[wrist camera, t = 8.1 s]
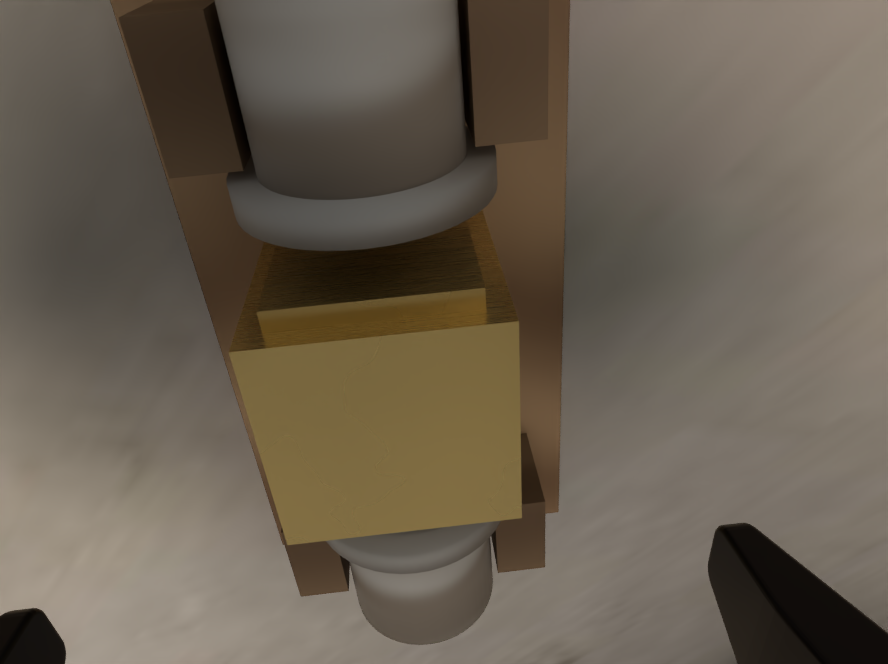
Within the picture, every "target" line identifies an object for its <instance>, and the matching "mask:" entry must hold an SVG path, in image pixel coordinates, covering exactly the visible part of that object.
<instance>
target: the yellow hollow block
mask: <svg viewBox="0 0 888 664" xmlns="http://www.w3.org/2000/svg"><path fill="white" fill-rule="evenodd" d="M229 356H230V359H231V362H232V365H233V369H234V372H235V375H236V378H237V382H238V385H239V388H240V392H241V395H242V398H243V401H244V405H245V408H246V411H247V414H248V418H249V421H250V424H251V428H252V431H253V434H254V437H255V441H256V444H257V447H258V450H259V454H260V457H261V460H262V464H263V467H264V470H265V473H266V477H267V480H268V483H269V486H270V490H271V493H272V496H273V500H274V503H275V506H276V509H277V513H278V516H279V519H280V522H281V526H282V529H283V532H284V536H285V539H286V542H287V545H294V544H302V543H311V542H320V541H328V540H337V539H346V538H354V537H363V536H372V535H380V534H389V533H398V532H406V531H415V530H424V529H432V528H441V527H450V526H458V525H467V524H476V523H484V522H493V521H501V520H510V519H519V518H522V491H521V423H520V356H519V320H518V317H517V314H516V311H515V308H514V305H513V302H512V298H511V295H510V292H509V289H508V286H507V283H506V280H505V277H504V274H503V271H502V268H501V265H500V262H499V259H498V256H497V253H496V250H495V247H494V244H493V241H492V238H491V235H490V231H489V228H488V225H487V222H486V219H485V216H484V213H483V210H481V211H480V212H479V213H477V214H476V215H474V216H473V217H471V218H470V219H468V220H466V221H464V222H462V223H460V224H458V225H456V226H454V227H452V228H449V229H447V230H444V231H442V232H439V233H436V234H433V235H430V236H427V237H424V238H420V239H417V240H413V241H409V242H405V243H400V244H395V245H390V246H384V247H377V248H369V249H360V250H347V251H315V250H302V249H293V248H287V247H282V246H277V245H273V244H270V243H267V242H264V244H263V247H262V250H261V253H260V256H259V259H258V262H257V265H256V268H255V272H254V275H253V278H252V281H251V284H250V287H249V290H248V293H247V297H246V300H245V303H244V306H243V309H242V312H241V315H240V318H239V321H238V325H237V328H236V331H235V334H234V337H233V340H232V343H231V346H230V349H229Z"/></svg>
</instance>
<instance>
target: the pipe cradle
mask: <svg viewBox="0 0 888 664" xmlns="http://www.w3.org/2000/svg"><path fill="white" fill-rule="evenodd" d="M110 1H111V5H112V8H113V11H114V14H115V17H116V20H117V24H118V27H119V30H120V33H121V36H122V39H123V42H124V46H125V49H126V52H127V55H128V58H129V61H130V64H131V68H132V71H133V74H134V77H135V80H136V83H137V87H138V90H139V93H140V96H141V99H142V102H143V105H144V109H145V112H146V115H147V118H148V121H149V124H150V127H151V131H152V134H153V137H154V140H155V143H156V146H157V150H158V153H159V156H160V159H161V162H162V165H163V168H164V172H165V175H166V178H167V181H168V184H169V187H170V190H171V194H172V197H173V200H174V203H175V206H176V209H177V213H178V216H179V219H180V222H181V225H182V228H183V231H184V235H185V238H186V241H187V244H188V247H189V250H190V253H191V257H192V260H193V263H194V266H195V269H196V272H197V275H198V279H199V282H200V285H201V288H202V291H203V294H204V298H205V301H206V304H207V307H208V310H209V313H210V316H211V320H212V323H213V326H214V329H215V332H216V335H217V338H218V342H219V345H220V348H221V351H222V354H223V357H224V361H225V364H226V367H227V370H228V373H229V376H230V379H231V383H232V386H233V389H234V392H235V395H236V398H237V401H238V405H239V408H240V411H241V414H242V417H243V420H244V424H245V427H246V430H247V433H248V436H249V439H250V442H251V446H252V449H253V452H254V455H255V458H256V461H257V464H258V468H259V471H260V474H261V477H262V480H263V483H264V486H265V490H266V493H267V496H268V499H269V502H270V505H271V509H272V512H273V515H274V518H275V521H276V524H277V527H278V531H279V534H280V537H281V540H282V543H283V545H284V544H285V547H286V551H287V554H288V557H289V560H290V563H291V566H292V570H293V573H294V576H295V579H296V582H297V585H298V589H299V592H300V595H301V596H309V595H318V594H326V593H334V592H343V591H349V568H350V566H351V571H352V575H353V579H354V583H355V587H356V591H357V596H358V600H359V604H360V607H361V609H362V612H363V614H364V616H365V617H366V619H367V620H368V621H369V623H370V624H371V625H372V626H373V627H374V628H375V629H376V630H377V631H379V632H380V633H381V634H383V635H384V636H386V637H388V638H390V639H392V640H395V641H398V642H402V643H407V644H416V645H424V644H433V643H438V642H442V641H445V640H448V639H450V638H453V637H455V636H457V635H459V634H460V633H462V632H464V631H465V630H466V629H468V628H469V627H470V626H471V625H473V623H474V622H475V621H476V620H477V619H478V618H479V617H480V616H481V614H482V613H483V612H484V610H485V608H486V606H487V604H488V602H489V599H490V596H491V592H492V583H493V578H492V562H491V545H490V536H492V542H493V547H494V553H495V558H496V564H497V570H498V573H500V572H509V571H517V570H525V569H534V568H542V567H545V514H546V513H554V512H558V505H559V461H560V416H561V372H562V328H563V284H564V240H565V196H566V152H567V108H568V63H569V19H570V0H110ZM481 210H483V213H484V216H485V219H486V222H487V225H488V228H489V231H490V235H491V238H492V241H493V244H494V247H495V250H496V253H497V256H498V259H499V262H500V265H501V268H502V271H503V274H504V277H505V280H506V283H507V286H508V289H509V292H510V295H511V298H512V302H513V305H514V308H515V311H516V314H517V317H518V320H519V356H520V423H521V491H522V518H519V519H510V520H501V521H493V522H484V523H476V524H467V525H458V526H450V527H441V528H432V529H424V530H415V531H406V532H398V533H389V534H380V535H372V536H363V537H354V538H346V539H337V540H328V541H320V542H311V543H302V544H294V545H287V542H286V539H285V536H284V532H283V529H282V526H281V522H280V519H279V516H278V513H277V509H276V506H275V503H274V500H273V496H272V493H271V490H270V486H269V483H268V480H267V477H266V473H265V470H264V467H263V464H262V460H261V457H260V454H259V450H258V447H257V444H256V441H255V437H254V434H253V431H252V428H251V424H250V421H249V418H248V414H247V411H246V408H245V405H244V401H243V398H242V395H241V392H240V388H239V385H238V382H237V378H236V375H235V372H234V369H233V365H232V362H231V359H230V356H229V349H230V346H231V343H232V340H233V337H234V334H235V331H236V328H237V325H238V321H239V318H240V315H241V312H242V309H243V306H244V303H245V300H246V297H247V293H248V290H249V287H250V284H251V281H252V278H253V275H254V272H255V268H256V265H257V262H258V259H259V256H260V253H261V250H262V247H263V244H264V242H267V243H270V244H273V245H277V246H282V247H287V248H293V249H302V250H315V251H347V250H360V249H369V248H377V247H384V246H390V245H395V244H400V243H405V242H409V241H413V240H417V239H420V238H424V237H427V236H430V235H433V234H436V233H439V232H442V231H444V230H447V229H449V228H452V227H454V226H456V225H458V224H460V223H462V222H464V221H466V220H468V219H470V218H471V217H473V216H474V215H476V214H477V213H479V212H480V211H481Z"/></svg>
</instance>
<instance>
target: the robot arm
mask: <svg viewBox="0 0 888 664" xmlns="http://www.w3.org/2000/svg"><path fill="white" fill-rule="evenodd" d="M708 574H709V579H710V582H711V586H712V589H713V592H714V595H715V598H716V601H717V604H718V607H719V610H720V613H721V615H722V618H723V621H724V624H725V627H726V630H727V633H728V636H729V639H730V642H731V645H732V648H733V651H734V654H735V657H736V660H737V663H738V664H888V633H887V632H886V631H885V630H883V629H882V628H881V627H880V626H878V625H877V624H876V623H875V622H873V621H872V620H871V619H869V618H868V617H867V616H866V615H864V614H863V613H862V612H861V611H859V610H858V609H857V608H856V607H854V606H853V605H852V604H851V603H849V602H848V601H847V600H846V599H844V598H843V597H842V596H841V595H839V594H838V593H837V592H836V591H834V590H833V589H832V588H831V587H829V586H828V585H827V584H825V583H824V582H823V581H822V580H820V579H819V578H818V577H817V576H815V575H814V574H813V573H812V572H810V571H809V570H808V569H807V568H805V567H804V566H803V565H802V564H800V563H799V562H798V561H797V560H795V559H794V558H793V557H792V556H790V555H789V554H788V553H786V552H785V551H784V550H783V549H781V548H780V547H779V546H778V545H776V544H775V543H774V542H773V541H771V540H770V539H769V538H768V537H766V536H765V535H764V534H763V533H761V532H760V531H759V530H758V529H756V528H755V527H754V526H752V525H750V524H747V523H737V524H728V525H721V526H719V527H718V528H717V529H716V531H715V534H714V538H713V543H712V548H711V552H710V557H709V561H708ZM65 659H66V650H65V645H64V642H63V640H62V639H61V637H60V636H59V634H58V633H57V631H56V630H55V628H54V627H53V625H52V624H51V622H50V621H49V619H48V618H47V616H46V615H45V613H44V612H43V611H42V610H40V609H37V608H31V609H22V610H14V611H10V612H7V613H4V614H3V615H1V616H0V664H65Z"/></svg>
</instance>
